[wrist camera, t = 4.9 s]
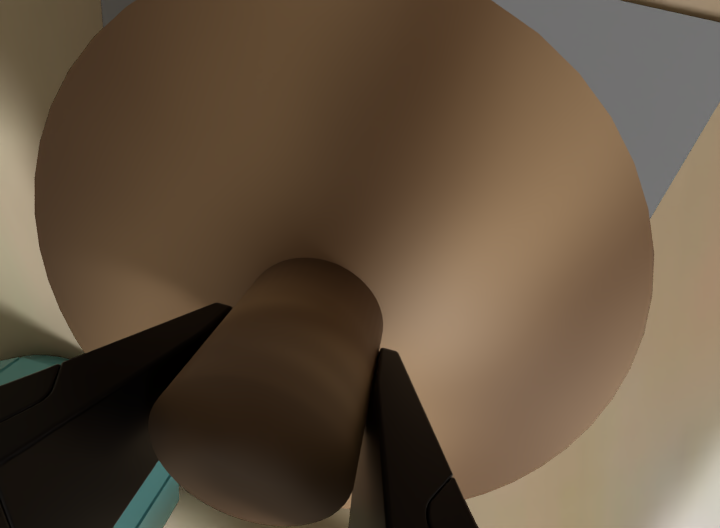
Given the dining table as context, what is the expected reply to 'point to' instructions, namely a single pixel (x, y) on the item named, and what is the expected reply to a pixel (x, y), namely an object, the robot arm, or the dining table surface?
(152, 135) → the lid
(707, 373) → the dining table surface
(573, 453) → the dining table surface
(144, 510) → the bowl
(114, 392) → the robot arm
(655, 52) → the mat
